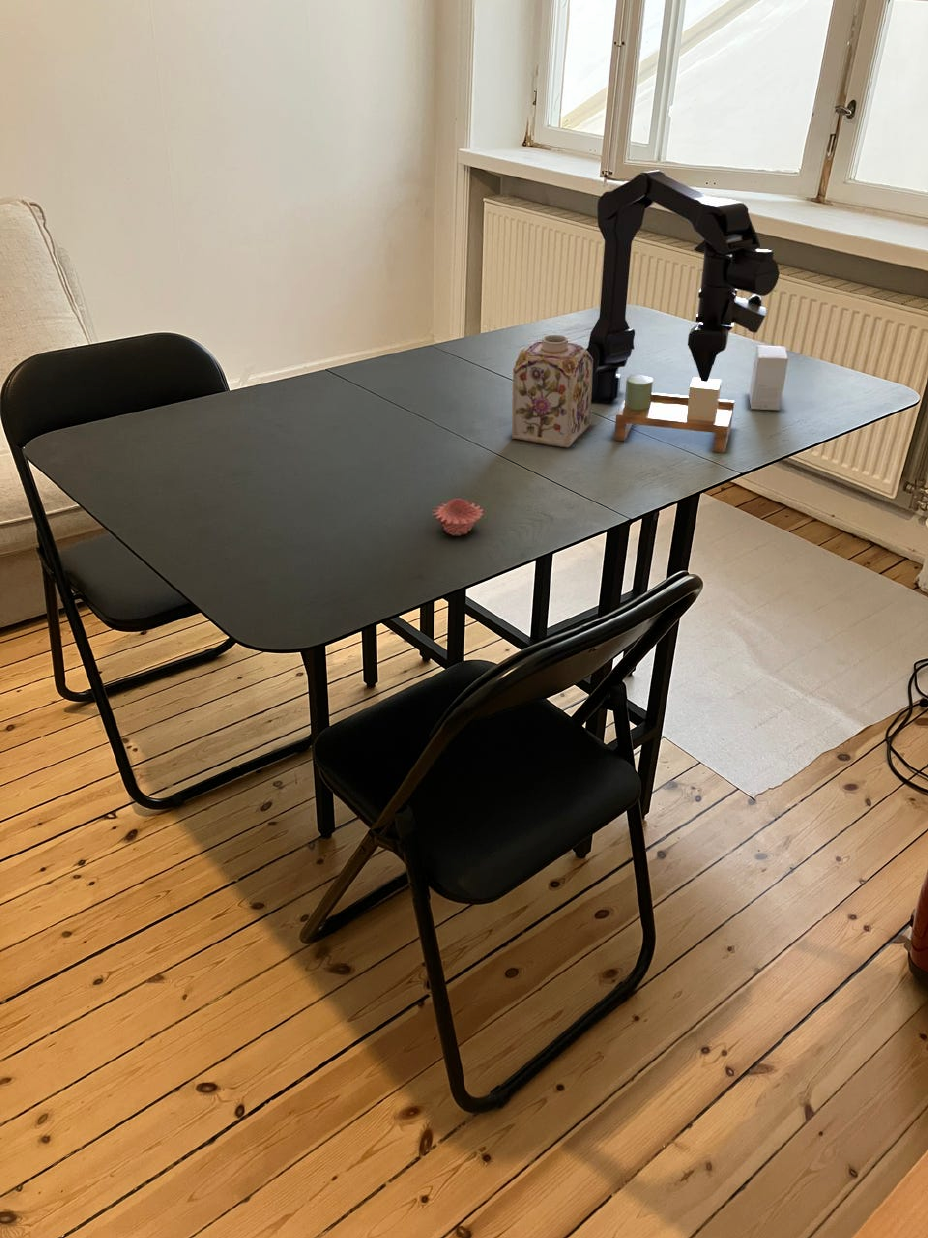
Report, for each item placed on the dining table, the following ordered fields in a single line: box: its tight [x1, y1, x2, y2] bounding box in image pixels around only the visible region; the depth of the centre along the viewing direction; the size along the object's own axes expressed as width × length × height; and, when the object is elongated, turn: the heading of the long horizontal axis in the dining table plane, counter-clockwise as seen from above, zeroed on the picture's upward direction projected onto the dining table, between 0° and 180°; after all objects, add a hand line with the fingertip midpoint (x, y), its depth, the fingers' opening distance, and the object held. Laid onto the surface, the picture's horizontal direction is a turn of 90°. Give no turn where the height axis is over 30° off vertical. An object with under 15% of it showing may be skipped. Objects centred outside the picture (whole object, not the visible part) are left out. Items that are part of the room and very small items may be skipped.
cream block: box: [686, 377, 722, 422], centre depth 180 cm, size 5×5×6 cm
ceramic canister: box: [624, 374, 654, 410], centre depth 185 cm, size 5×5×5 cm
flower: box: [432, 498, 485, 536], centre depth 154 cm, size 8×8×6 cm
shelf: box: [613, 392, 735, 453], centre depth 185 cm, size 20×11×6 cm, turn 72°
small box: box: [749, 344, 789, 411], centre depth 197 cm, size 8×6×10 cm
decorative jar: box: [511, 334, 594, 448], centre depth 184 cm, size 12×12×18 cm
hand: (707, 373), depth 177 cm, fingers open, 9 cm apart
